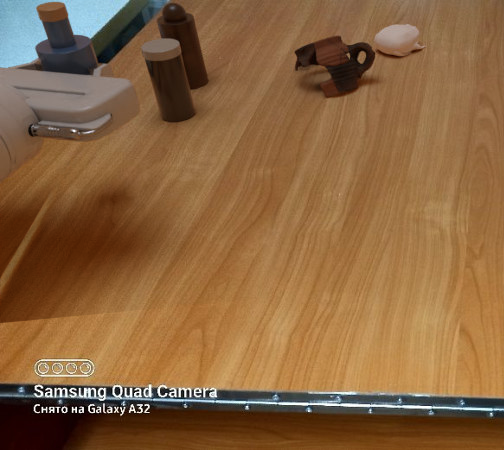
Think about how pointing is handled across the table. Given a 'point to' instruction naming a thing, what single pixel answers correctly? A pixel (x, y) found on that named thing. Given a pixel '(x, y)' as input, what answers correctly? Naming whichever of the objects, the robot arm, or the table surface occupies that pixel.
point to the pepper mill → (184, 41)
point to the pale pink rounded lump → (398, 39)
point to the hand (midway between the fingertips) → (77, 67)
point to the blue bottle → (62, 43)
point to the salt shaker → (169, 79)
